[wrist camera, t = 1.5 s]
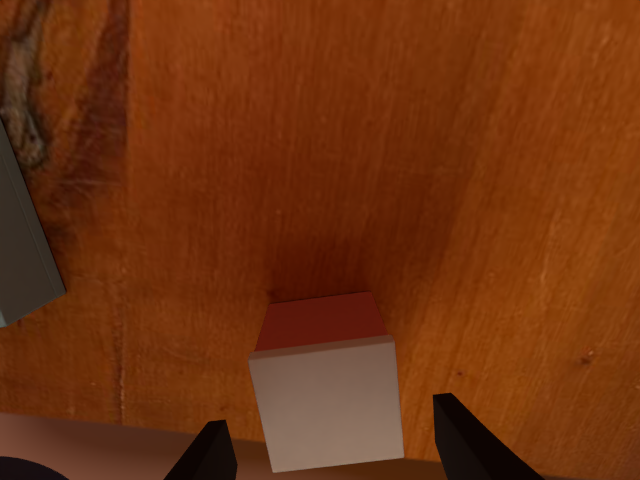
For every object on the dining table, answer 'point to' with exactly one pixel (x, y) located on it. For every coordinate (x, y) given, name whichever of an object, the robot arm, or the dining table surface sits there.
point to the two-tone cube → (327, 383)
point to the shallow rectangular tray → (22, 246)
